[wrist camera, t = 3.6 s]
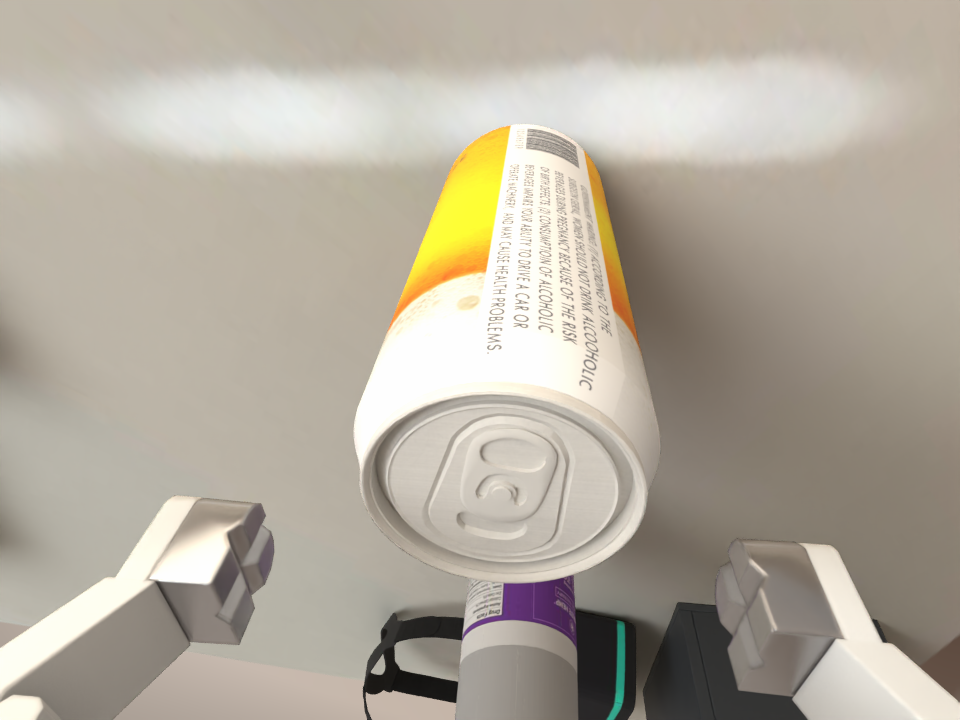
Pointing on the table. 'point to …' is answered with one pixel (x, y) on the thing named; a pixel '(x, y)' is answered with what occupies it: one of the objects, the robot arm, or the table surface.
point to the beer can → (511, 376)
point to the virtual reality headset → (599, 664)
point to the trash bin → (706, 675)
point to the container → (519, 652)
